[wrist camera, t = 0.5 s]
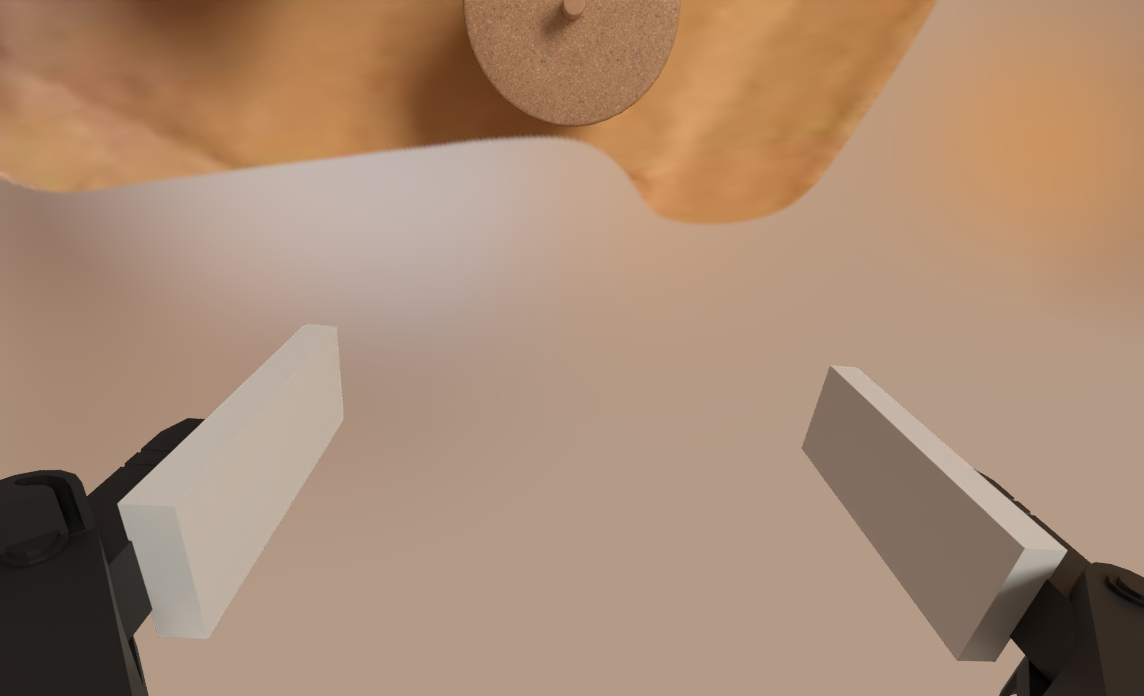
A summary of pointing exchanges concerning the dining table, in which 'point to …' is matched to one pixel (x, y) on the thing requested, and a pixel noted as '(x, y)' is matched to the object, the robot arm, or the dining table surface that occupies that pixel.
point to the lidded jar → (571, 53)
